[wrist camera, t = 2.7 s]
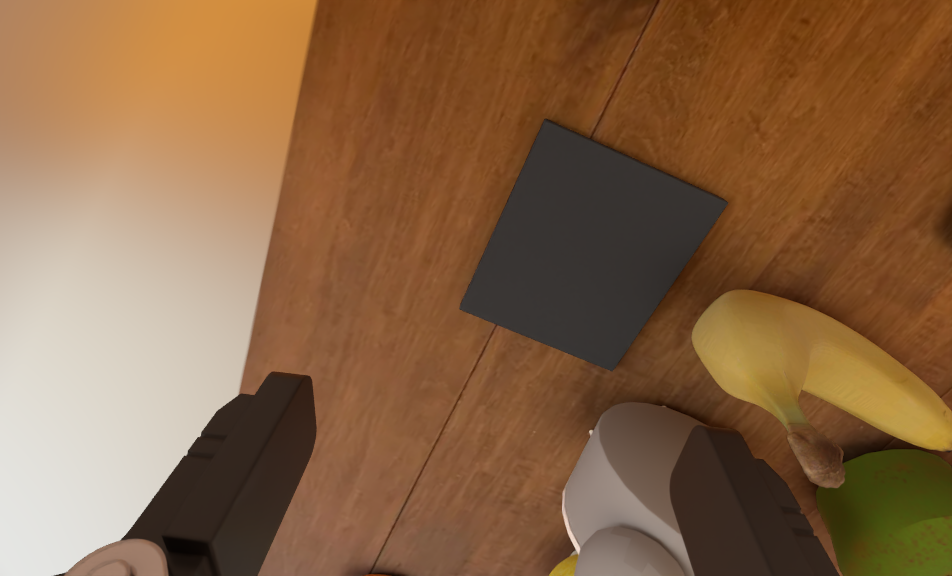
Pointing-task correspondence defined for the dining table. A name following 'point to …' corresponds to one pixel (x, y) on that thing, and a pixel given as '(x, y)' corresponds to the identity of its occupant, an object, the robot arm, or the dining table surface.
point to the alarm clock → (628, 494)
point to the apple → (891, 515)
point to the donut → (376, 575)
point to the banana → (814, 376)
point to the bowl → (566, 566)
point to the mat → (587, 246)
